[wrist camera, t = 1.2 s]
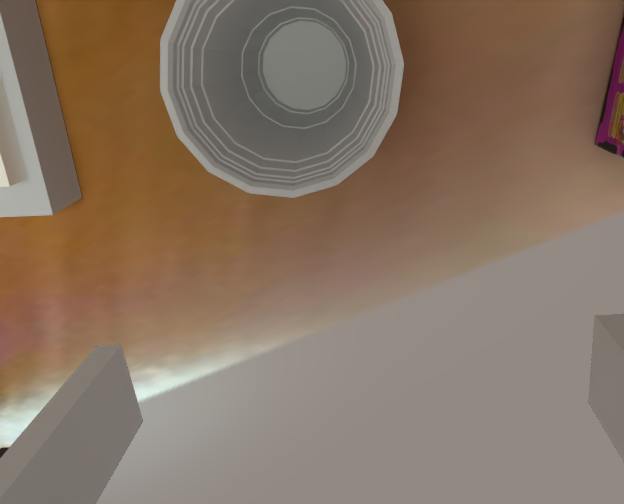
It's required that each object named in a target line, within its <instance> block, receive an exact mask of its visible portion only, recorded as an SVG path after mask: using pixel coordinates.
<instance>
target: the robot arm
mask: <svg viewBox="0 0 624 504" xmlns="http://www.w3.org/2000/svg"><path fill="white" fill-rule="evenodd" d="M588 402H589V405H590V406H591V408H592V410H593V412H594V413H595V415H596V417H597V418H598V420H599V421H600V423H601V425H602V427H603V428H604V430H605V432H606V433H607V435H608V437H609V438H610V440H611V441H612V443H613V445H614V447H615V448H616V450H617V452H618V454H619V455H620V457H621V459H622V460H623V462H624V314H613V315H597V316H594V329H593V344H592V358H591V372H590V386H589V400H588ZM142 422H143V419H142V416H141V412H140V409H139V405H138V402H137V398H136V395H135V391H134V388H133V384H132V381H131V377H130V374H129V370H128V367H127V363H126V360H125V356H124V353H123V349H122V346H121V345H106V346H96V347H95V349H94V350H93V351H92V352H91V353H90V354H89V356H88V357H87V358H86V359H85V360H84V361H83V363H82V364H81V365H80V366H79V367H78V368H77V370H76V371H75V372H74V373H73V374H72V375H71V377H70V378H69V379H68V380H67V381H66V382H65V383H64V385H63V386H62V387H61V388H60V389H59V390H58V392H57V393H56V394H55V395H54V396H53V397H52V399H51V400H50V401H49V402H48V403H47V404H46V406H45V407H44V408H43V409H42V410H41V411H40V413H39V414H38V415H37V416H36V417H35V418H34V420H33V421H32V422H31V423H30V424H29V425H28V427H27V428H26V429H25V430H24V431H23V432H22V434H21V435H20V436H19V437H18V438H17V439H16V441H15V442H14V443H13V444H12V445H11V446H10V447H9V448H1V449H0V504H96V502H97V500H98V499H99V497H100V495H101V494H102V492H103V490H104V488H105V487H106V485H107V483H108V481H109V480H110V478H111V476H112V474H113V473H114V471H115V469H116V467H117V466H118V464H119V462H120V461H121V459H122V457H123V455H124V454H125V452H126V450H127V448H128V447H129V445H130V443H131V441H132V440H133V438H134V436H135V434H136V433H137V431H138V429H139V428H140V426H141V424H142Z"/></svg>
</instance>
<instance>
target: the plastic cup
mask: <svg viewBox="0 0 624 504" xmlns="http://www.w3.org/2000/svg"><path fill="white" fill-rule="evenodd" d="M403 70H404V61H403V57H402V53H401V49H400V45H399V40H398V36H397V32H396V28H395V24H394V20H393V16H392V13H391V11H390V10H389V9H388V7H387V6H386V5H385V3H384V2H383V0H176V2H175V5H174V7H173V10H172V12H171V15H170V17H169V20H168V22H167V24H166V27H165V29H164V32H163V34H162V37H161V39H160V92H161V95H162V97H163V100H164V103H165V105H166V108H167V111H168V113H169V116H170V119H171V121H172V124H173V127H174V129H175V132H176V135H177V137H178V138H179V139H180V140H181V141H182V142H183V144H184V145H185V146H186V147H187V148H188V149H189V150H190V152H191V153H192V154H193V155H194V156H195V157H196V158H197V160H198V161H199V162H200V163H201V164H202V165H203V166H204V168H205V169H206V170H207V171H208V172H209V173H211V174H213V175H215V176H217V177H219V178H221V179H223V180H225V181H227V182H228V183H230V184H232V185H234V186H236V187H238V188H240V189H242V190H244V191H246V192H248V193H251V194H260V195H270V196H280V197H290V198H295V197H299V196H302V195H306V194H309V193H312V192H316V191H319V190H323V189H326V188H329V187H333V186H336V185H338V184H339V183H341V182H342V181H343V180H344V179H346V178H347V177H348V176H349V175H351V174H352V173H353V172H354V171H356V170H357V169H358V168H359V167H361V166H362V165H363V164H364V163H366V162H367V161H368V160H369V159H371V158H372V157H373V156H374V154H375V153H376V151H377V149H378V147H379V146H380V144H381V142H382V140H383V138H384V137H385V135H386V133H387V131H388V130H389V128H390V126H391V124H392V123H393V121H394V119H395V117H396V116H397V112H398V105H399V98H400V91H401V84H402V77H403Z"/></svg>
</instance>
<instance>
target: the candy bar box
mask: <svg viewBox="0 0 624 504" xmlns="http://www.w3.org/2000/svg"><path fill="white" fill-rule="evenodd" d="M596 145H597V146H599V147H601V148H603V149H605V150H607V151H609V152H611V153H614V154H616V155H618V156H620V157H622V158H624V20H623V25H622V29H621V34H620V38H619V43H618V47H617V52H616V56H615V61H614V65H613V69H612V74H611V78H610V82H609V87H608V91H607V96H606V100H605V105H604V109H603V113H602V118H601V122H600V126H599V131H598V135H597V140H596Z"/></svg>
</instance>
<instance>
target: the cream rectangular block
mask: <svg viewBox="0 0 624 504" xmlns="http://www.w3.org/2000/svg"><path fill="white" fill-rule="evenodd" d="M26 179H28V174H27V171H26V167H25V163H24V159H23V156H22V152H21V148H20V145H19V141H18V137H17V134H16V130H15V126H14V122H13V119H12V115H11V111H10V108H9V104H8V100H7V97H6V93H5V89H4V85H3V82H2V78H1V74H0V187H9V186H12V185H14V184H17V183H19V182H21V181H24V180H26Z"/></svg>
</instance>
